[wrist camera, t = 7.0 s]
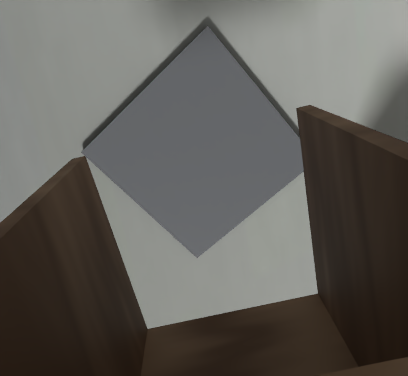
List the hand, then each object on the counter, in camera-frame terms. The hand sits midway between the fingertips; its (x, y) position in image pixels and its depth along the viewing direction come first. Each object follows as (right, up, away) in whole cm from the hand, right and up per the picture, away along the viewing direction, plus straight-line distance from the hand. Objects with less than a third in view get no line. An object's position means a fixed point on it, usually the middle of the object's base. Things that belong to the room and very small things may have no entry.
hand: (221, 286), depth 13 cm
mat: (-1, +7, +18) cm, 19 cm away
